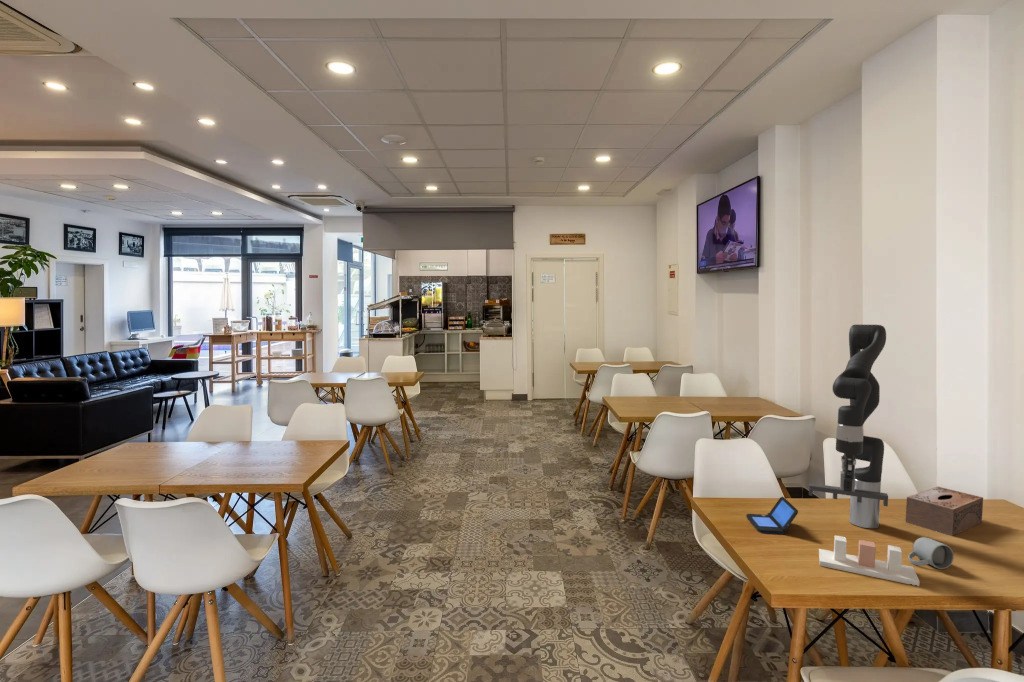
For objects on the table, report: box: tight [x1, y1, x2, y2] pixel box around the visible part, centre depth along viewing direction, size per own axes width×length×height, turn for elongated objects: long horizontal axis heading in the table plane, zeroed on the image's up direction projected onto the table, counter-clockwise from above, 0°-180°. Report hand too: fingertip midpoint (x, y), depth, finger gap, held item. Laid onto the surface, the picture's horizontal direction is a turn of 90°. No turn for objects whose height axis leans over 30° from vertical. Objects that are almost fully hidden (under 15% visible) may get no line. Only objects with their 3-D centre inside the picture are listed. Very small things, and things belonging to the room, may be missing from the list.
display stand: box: [818, 535, 920, 587], centre depth 164 cm, size 10×25×8 cm, turn 61°
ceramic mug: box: [907, 536, 955, 570], centre depth 168 cm, size 11×8×8 cm
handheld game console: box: [745, 496, 799, 535], centre depth 197 cm, size 16×13×9 cm
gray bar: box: [808, 470, 889, 507], centre depth 176 cm, size 3×22×9 cm, turn 61°
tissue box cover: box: [905, 486, 984, 537], centre depth 202 cm, size 26×14×10 cm, turn 120°
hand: (847, 489), depth 176 cm, fingers closed on gray bar, 3 cm apart
